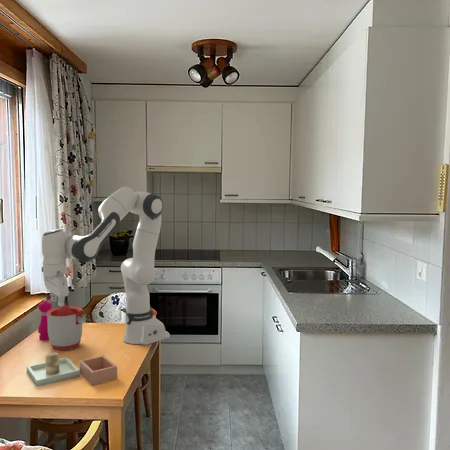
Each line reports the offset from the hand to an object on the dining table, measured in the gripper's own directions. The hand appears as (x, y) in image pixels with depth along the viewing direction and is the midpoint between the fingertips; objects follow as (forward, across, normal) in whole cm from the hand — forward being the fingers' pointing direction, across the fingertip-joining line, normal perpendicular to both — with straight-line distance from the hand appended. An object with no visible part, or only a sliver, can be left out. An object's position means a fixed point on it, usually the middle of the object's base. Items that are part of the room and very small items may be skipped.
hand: (57, 303), depth 183 cm
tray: (+27, -4, +5) cm, 28 cm away
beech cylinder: (+26, -4, +5) cm, 27 cm away
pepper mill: (+28, +40, -4) cm, 49 cm away
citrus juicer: (+28, +23, -9) cm, 37 cm away
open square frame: (+28, -16, -9) cm, 33 cm away
